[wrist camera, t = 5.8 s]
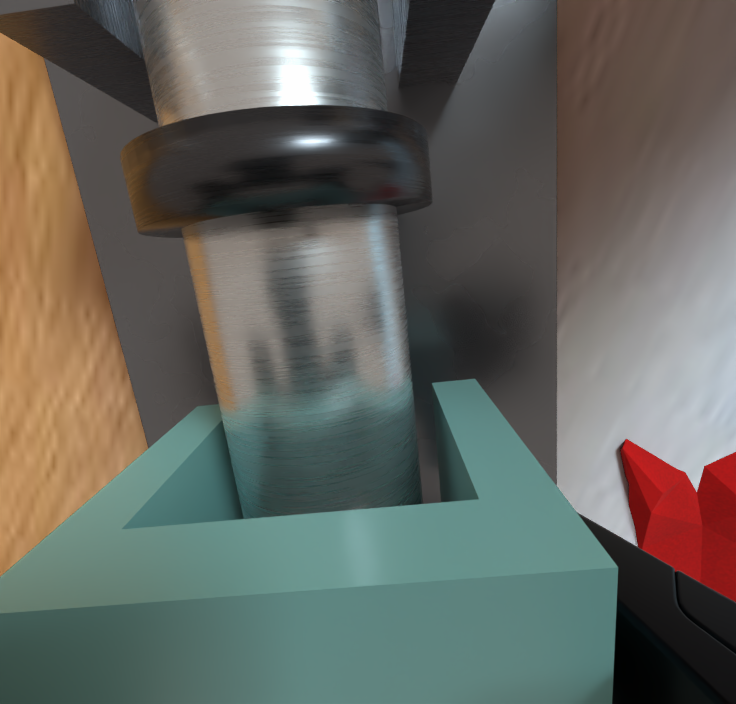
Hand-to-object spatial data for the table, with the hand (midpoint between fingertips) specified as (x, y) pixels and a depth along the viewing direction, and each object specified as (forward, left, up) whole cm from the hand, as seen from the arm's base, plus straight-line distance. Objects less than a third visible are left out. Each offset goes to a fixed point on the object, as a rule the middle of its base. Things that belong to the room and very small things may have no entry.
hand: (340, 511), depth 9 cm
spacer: (0, 0, -2) cm, 2 cm away
